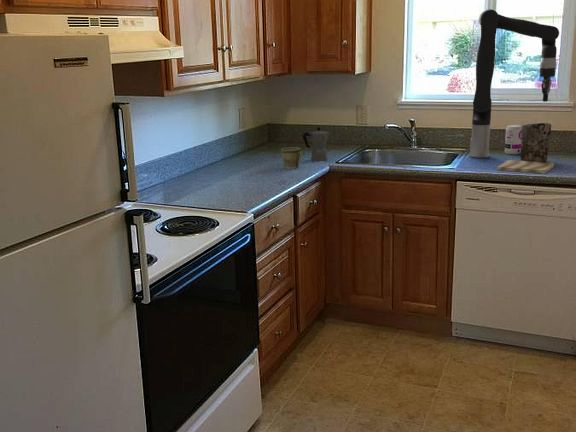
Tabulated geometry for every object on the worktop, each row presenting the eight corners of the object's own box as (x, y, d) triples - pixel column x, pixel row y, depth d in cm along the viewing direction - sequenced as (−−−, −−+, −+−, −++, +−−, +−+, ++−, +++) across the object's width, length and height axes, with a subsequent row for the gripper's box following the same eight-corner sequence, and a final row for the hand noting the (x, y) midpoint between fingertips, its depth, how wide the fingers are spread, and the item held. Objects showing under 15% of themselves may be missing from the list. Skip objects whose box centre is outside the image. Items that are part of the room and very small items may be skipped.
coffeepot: (329, 158, 348) (328, 125, 343) (333, 161, 339) (332, 127, 334) (301, 159, 345) (301, 126, 341) (305, 162, 336) (304, 129, 332)
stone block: (539, 159, 324) (542, 121, 319) (549, 162, 318) (552, 122, 312) (518, 162, 320) (520, 122, 315) (527, 164, 314) (530, 124, 309)
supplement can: (521, 152, 346) (523, 125, 342) (518, 155, 339) (520, 127, 335) (506, 151, 350) (508, 124, 346) (503, 154, 343) (504, 126, 339)
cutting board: (497, 169, 303) (497, 166, 303) (507, 162, 319) (508, 159, 319) (545, 173, 292) (545, 170, 291) (553, 166, 308) (554, 163, 307)
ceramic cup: (277, 168, 322) (277, 149, 320) (288, 165, 330) (288, 146, 328) (299, 171, 315) (298, 151, 313) (309, 167, 323) (309, 148, 320)
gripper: (542, 66, 328) (540, 100, 332) (537, 67, 317) (534, 102, 322) (558, 66, 324) (555, 100, 328) (553, 67, 313) (550, 102, 318)
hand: (545, 101), depth 325 cm, fingers closed
